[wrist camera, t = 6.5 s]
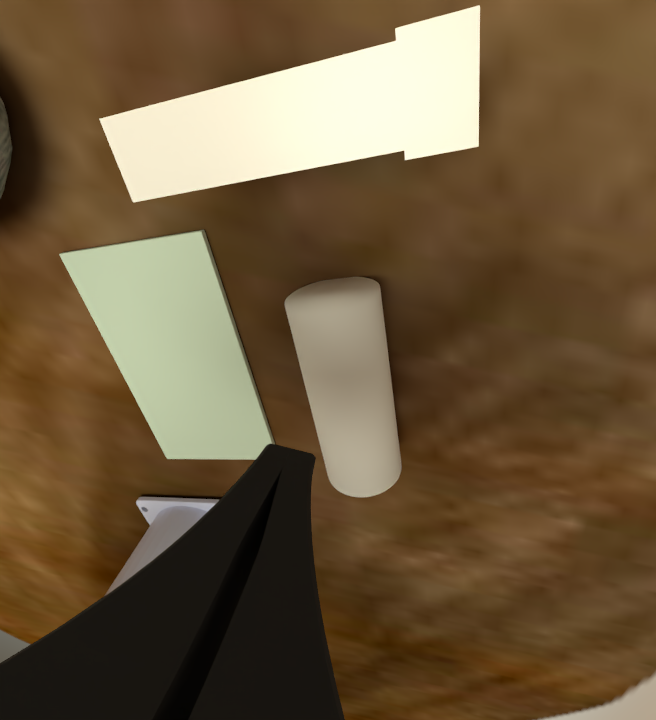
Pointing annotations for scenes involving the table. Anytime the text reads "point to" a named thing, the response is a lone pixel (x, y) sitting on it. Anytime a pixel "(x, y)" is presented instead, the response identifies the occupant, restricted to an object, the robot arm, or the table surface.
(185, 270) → the mat
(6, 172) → the mottled grey-green ovoid
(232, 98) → the cream flat notched block
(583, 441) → the table surface
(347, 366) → the cylinder
